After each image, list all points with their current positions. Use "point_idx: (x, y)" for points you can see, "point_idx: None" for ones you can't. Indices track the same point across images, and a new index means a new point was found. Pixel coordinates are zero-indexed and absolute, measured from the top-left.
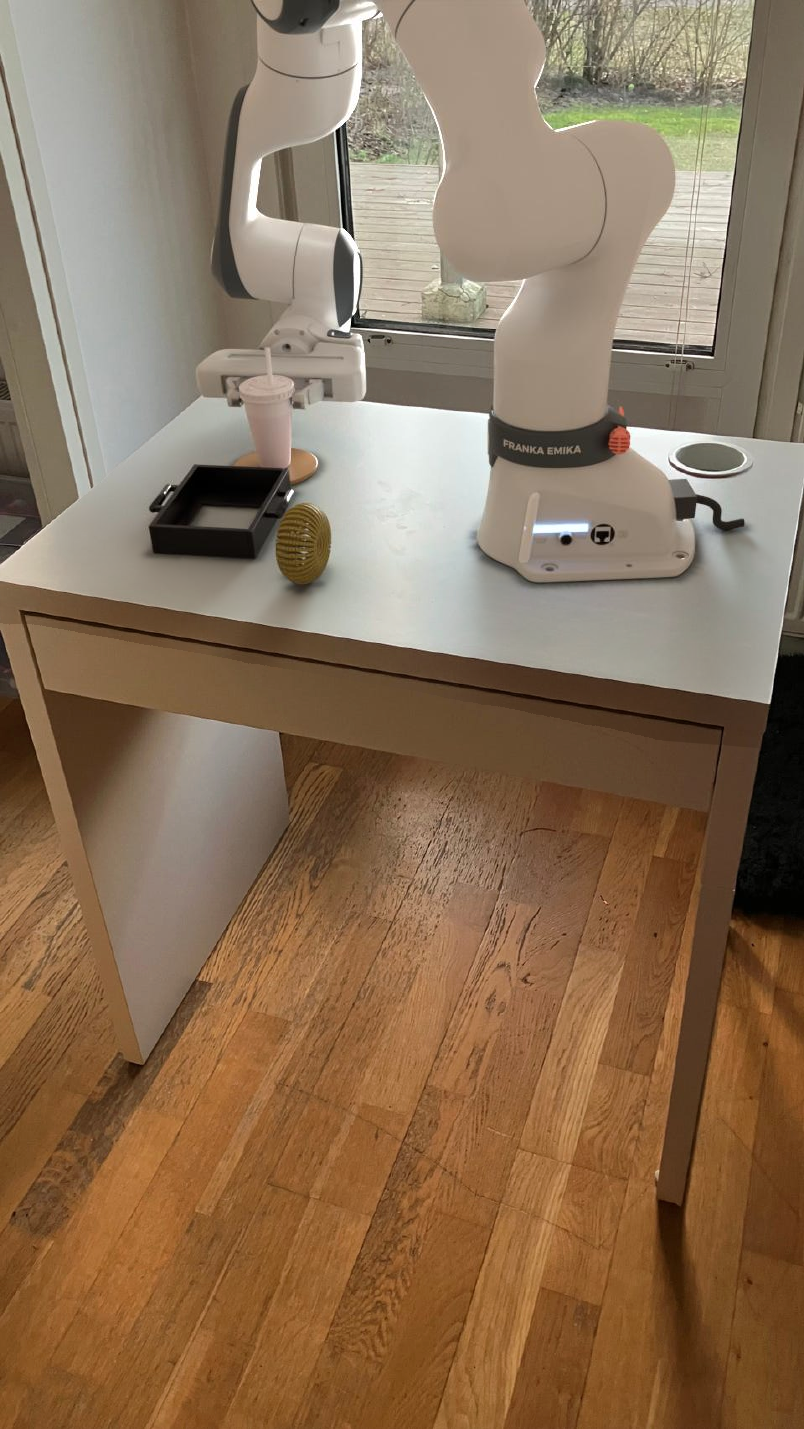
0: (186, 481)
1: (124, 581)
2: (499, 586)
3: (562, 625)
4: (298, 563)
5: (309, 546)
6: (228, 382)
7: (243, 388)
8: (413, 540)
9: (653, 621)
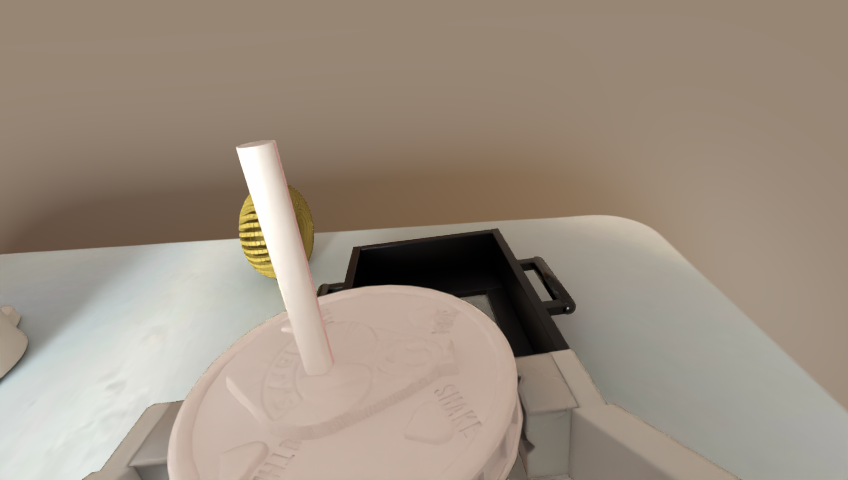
0: (533, 307)
1: None
2: (64, 306)
3: (48, 278)
4: None
5: None
6: (683, 451)
7: (467, 323)
8: (117, 358)
9: None
